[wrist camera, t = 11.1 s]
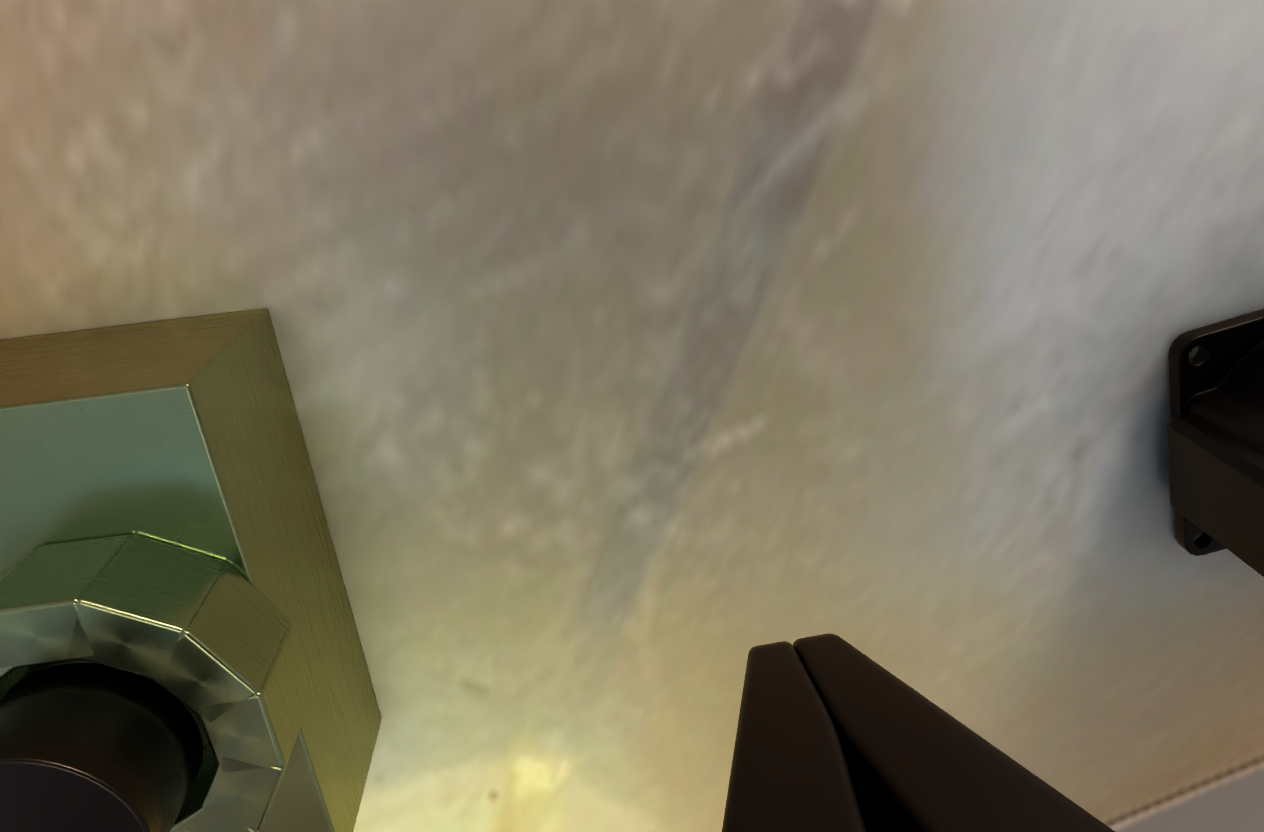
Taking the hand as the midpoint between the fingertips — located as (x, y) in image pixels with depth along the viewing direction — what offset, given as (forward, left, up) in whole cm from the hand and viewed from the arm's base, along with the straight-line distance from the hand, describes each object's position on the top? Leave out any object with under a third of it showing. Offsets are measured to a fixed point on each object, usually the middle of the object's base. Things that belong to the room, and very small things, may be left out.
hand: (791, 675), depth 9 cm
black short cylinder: (+12, +3, -7) cm, 14 cm away
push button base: (+15, +2, -13) cm, 20 cm away
